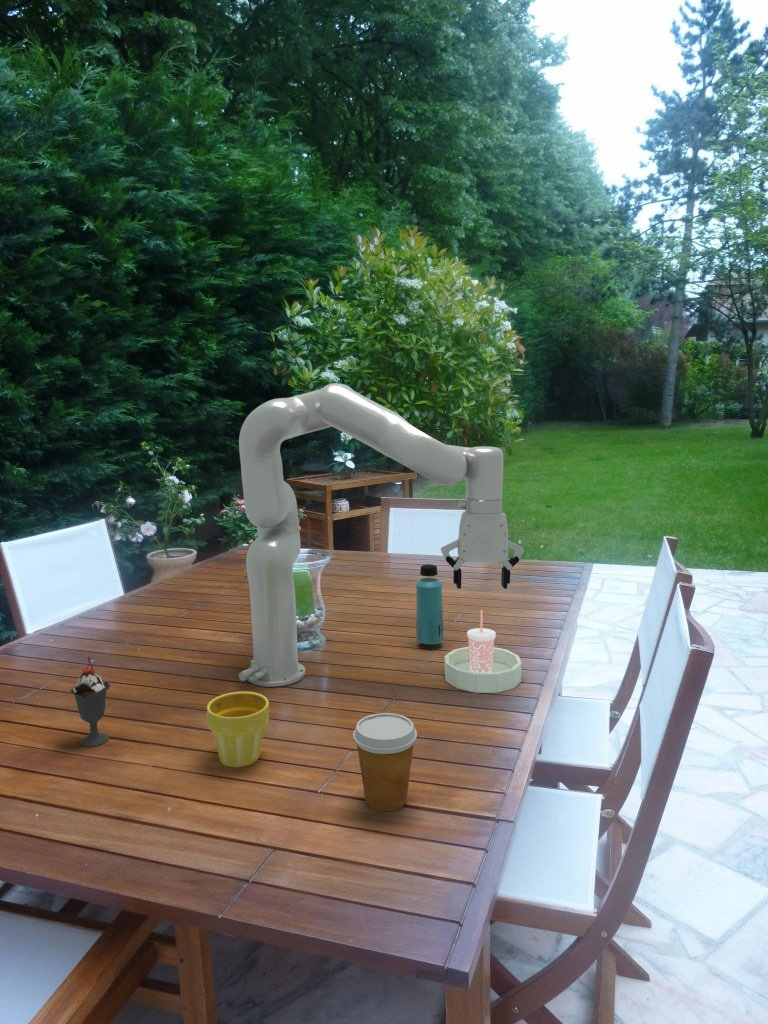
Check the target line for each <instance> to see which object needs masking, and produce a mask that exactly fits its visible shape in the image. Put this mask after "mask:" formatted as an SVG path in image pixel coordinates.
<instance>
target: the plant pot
mask: <svg viewBox="0 0 768 1024" xmlns="http://www.w3.org/2000/svg"><path fill="white" fill-rule="evenodd" d="M269 720H270V702H269V699H268V698H267V697H266V696H264V695H263V694H261V693H258V692H253V691H235V692H227V693H224V694H221V695H218V696H216V697H215V698H213V699H211V700H210V701H209V702H208V703H207V705H206V724H207V727H208V730H210V731H211V732H212V735H213V739H214V743H215V747H216V749H217V750H216V751H217V753H218V754H217V755H218V758H219V761H220V762H221V764H222V765H223V766H227V767H229V768H230V767H231V768H242V767H247V766H249V765H253V764H254V763H256V762H257V761H258V760H259V758H260V756H261V749H262V743H263V740H264V739H263V737H264V733H265V727H266V726H267V725H268V724H269V722H270V721H269Z"/></svg>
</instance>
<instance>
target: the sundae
mask: <svg viewBox="0 0 768 1024" xmlns="http://www.w3.org/2000/svg"><path fill="white" fill-rule="evenodd" d="M86 659H87V662H88V663H87V664H88V665H87V666H86V667H85V668H84V669H82V673H81V675H80V676H78V679H77V681H76V684H75V685H73V686H72V687H71V688H70V689H69V693H70V694H72V695H73V696H74V698H75V702H76V705H77V710H78V714H79V717H80V718H81V720H83V721H84V722H85V723H88V724H89V729H90V730H89V734H88V735H86V736H84V737H83V738H81V739H80V741H79V744H80V745H81V746H83V747H84V748H85V747H86V748H91V747H92V748H93V747H98V746H101V745H103V744H105V743H107V742H108V741H109V740H110V735H109V734H107V733H105V732H99V729H98V722H99V721H100V720H101V719H102V718H103V717H104V715H105V709H106V702H107V701H106V700H107V699H106V697H107V691H109V690H110V688H111V682H109V681H108V680H105V679H102V677H101V676H100V675H98V674H96V670H95V669H94V668H93V665H92V662H91V660H90V659H91V657H90V656H89V657H87V658H86ZM89 666H90V667H91V668H90V669H89Z"/></svg>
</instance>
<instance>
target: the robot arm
mask: <svg viewBox="0 0 768 1024" xmlns="http://www.w3.org/2000/svg"><path fill="white" fill-rule="evenodd" d="M331 427H332V428H335V429H336V430H338V431H339V432H342V433H344V434H346V435H348V436H349V437H352V438H353V439H355V440H357V441H359V442H362V443H363V444H365V445H366V446H369V447H370V448H372V449H374V450H375V451H378V452H379V453H381V454H382V455H384V456H385V457H388V458H390V459H392V460H394V461H396V462H397V463H399V464H401V465H403V466H404V467H406V468H408V469H410V470H411V471H413V472H415V473H417V474H419V475H420V476H423V477H425V478H427V479H429V480H430V481H432V482H435V483H436V484H438V485H441V486H446V487H450V486H455V485H457V484H459V483H460V482H461V481H462V480H463V479H464V480H465V497H464V499H463V500H459V501H458V502H457V503H458V504H457V508H459V509H461V508H462V509H464V511H463V512H462V513H461V515H460V521H459V526H458V527H459V528H458V537H457V539H455V540H454V541H452V542H450V543H448V544H446V545H444V546H442V547H441V548H440V551H441V554H442V556H443V558H444V559H445V562H446V563H447V564H448V565H449V566H450V567H452V569H453V572H452V573H453V575H452V576H453V577H452V578H453V579H452V580H453V584H454V585H455V586H456V588H457V590H458V589H459V590H461V588H462V569H461V567H462V566H464V563H472V564H473V563H475V564H476V563H479V564H480V563H485V564H486V563H490V564H491V563H493V564H494V563H502V565H503V566H502V567H501V579H500V580H501V581H500V582H501V583H500V584H501V586H502V588H503V589H505V590H507V589H508V585H510V584H511V570H513V568H514V567H515V566H516V564H518V563H519V562H520V559H521V557H522V556H523V554H524V553H525V549H524V548H523V547H522V546H521V545H518V544H516V543H515V542H512V541H510V540H509V529H508V522H507V515H506V513H504V512H502V511H503V510H502V509H503V488H504V487H503V485H504V484H503V482H504V452H503V450H502V449H501V448H500V447H495V446H483V445H482V446H473V447H467V446H460V445H451V444H445V443H443V442H441V441H439V440H437V439H436V438H433V437H432V436H430V435H429V434H426V433H425V432H423V431H421V430H419V429H418V428H417V427H415V426H414V425H413V424H410V422H408V421H407V420H406V419H405V418H404V417H402V416H401V415H399V414H398V413H397V412H395V411H393V410H392V409H389V408H387V407H385V406H383V405H381V404H380V403H378V402H376V401H374V400H372V399H370V398H369V397H366V396H364V395H362V394H360V393H359V392H357V391H355V390H354V389H353V388H351V387H350V386H349V385H347V384H344V383H336V382H335V383H329V384H327V385H325V386H323V388H320V389H315V390H313V391H309V392H306V393H302V394H299V395H294V396H290V397H279V398H274V399H270V400H267V401H266V402H263V403H261V404H260V405H259V406H257V407H256V408H255V409H253V410H252V411H251V412H250V413H249V414H248V415H247V416H246V418H245V420H244V421H243V423H242V425H241V428H240V432H239V437H238V447H239V448H238V451H239V460H240V461H239V462H240V469H241V472H240V473H241V483H242V492H243V501H244V503H243V504H244V511H245V516H246V518H247V520H249V522H250V523H251V524H252V525H253V526H254V527H256V530H257V537H256V538H255V540H253V542H252V543H251V545H250V546H249V547H248V550H247V553H246V558H245V560H246V561H245V565H246V567H245V568H246V575H247V580H248V587H249V598H250V599H249V600H250V612H251V613H250V614H251V633H252V636H251V637H252V652H253V653H252V654H253V659H252V660H250V665H249V667H248V668H247V669H244V670H242V671H240V672H239V673H238V679H239V680H240V681H241V682H244V681H248V682H250V683H251V684H253V685H255V686H260V687H266V688H267V687H268V688H271V687H272V688H273V687H274V688H275V687H277V688H278V687H283V686H288V685H291V684H294V683H297V682H299V681H300V680H303V678H304V677H305V676H306V668H305V666H304V665H303V664H302V663H299V658H298V655H299V653H298V631H297V630H298V629H297V628H298V627H297V606H296V589H295V587H296V586H295V582H294V564H295V562H296V561H297V559H298V557H299V555H300V553H301V547H302V546H301V533H300V523H299V514H298V511H299V510H298V504H297V503H298V502H297V498H296V495H295V492H294V490H293V488H292V487H291V485H290V484H289V483H288V482H286V481H285V480H284V471H283V461H282V456H281V451H280V450H281V445H282V443H283V442H284V441H286V440H289V439H293V438H295V437H298V436H302V435H305V434H309V433H313V432H316V431H320V430H324V429H328V428H331ZM455 549H457V555H458V556H457V557H456V558H455V559H454V558H453V557H452V556H451V555H450V552H451V551H453V550H455ZM509 549H511V550H513V551H515V552H514V555H513V556H511V557H510V558H509ZM508 558H509V559H508Z"/></svg>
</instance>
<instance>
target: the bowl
mask: <svg viewBox="0 0 768 1024" xmlns="http://www.w3.org/2000/svg"><path fill="white" fill-rule="evenodd" d="M522 664H523V663H522V660H521V658H520V656H519V655H518V654H515V653H514V652H512V651H510V650H508V649H505V648H499V647H495V646H494V649H493V663H492V673H476V672H471V671H470V656H469V646H465V647H460V648H455V649H453V650H451V651H450V652H448V653H447V654H445V655H444V678H445V679H444V680H445V682H446V683H448V684H449V685H451V686H452V687H454V688H455V689H458V690H461V691H462V690H463V691H466V692H470V693H476V694H477V693H478V694H480V693H481V694H482V693H483V694H491V693H493V694H497V693H501V692H506V691H509V690H514V689H515V688H516V687H517V686H518V685H519V684H520V683H521V682H522Z"/></svg>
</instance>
